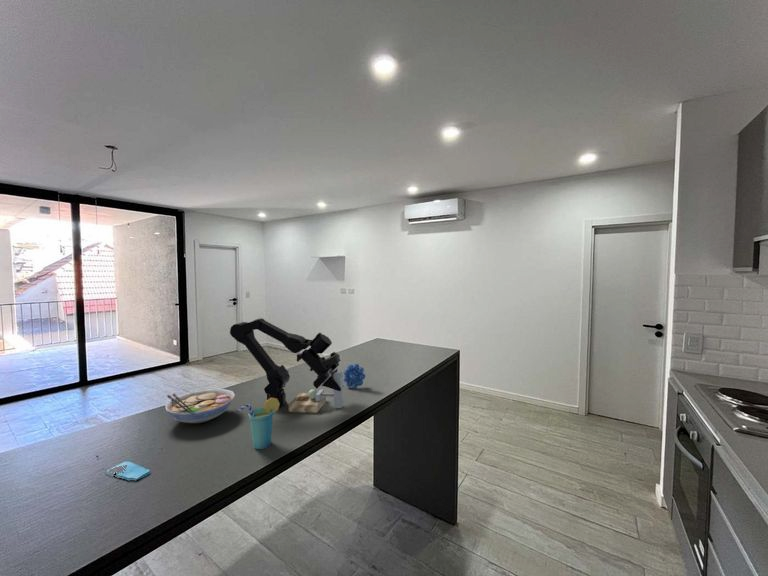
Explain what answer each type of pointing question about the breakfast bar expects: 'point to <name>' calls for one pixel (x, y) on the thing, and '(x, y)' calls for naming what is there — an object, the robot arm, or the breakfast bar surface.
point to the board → (305, 404)
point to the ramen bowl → (199, 405)
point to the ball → (312, 394)
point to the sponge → (132, 471)
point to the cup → (262, 422)
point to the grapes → (354, 376)
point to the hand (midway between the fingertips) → (341, 388)
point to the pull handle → (337, 394)
